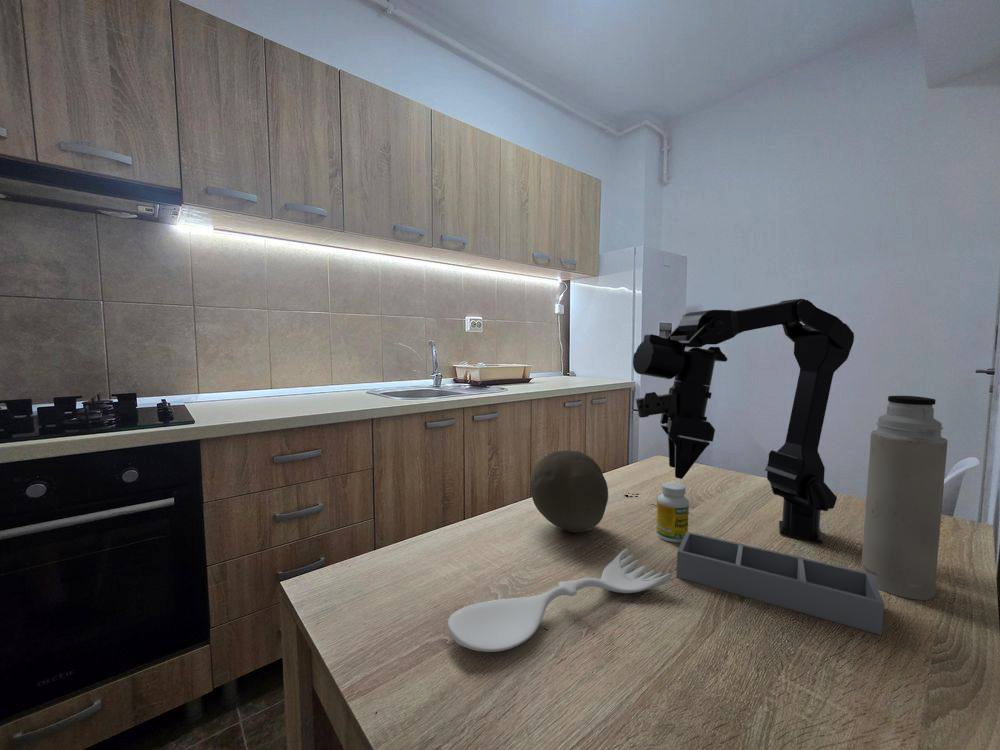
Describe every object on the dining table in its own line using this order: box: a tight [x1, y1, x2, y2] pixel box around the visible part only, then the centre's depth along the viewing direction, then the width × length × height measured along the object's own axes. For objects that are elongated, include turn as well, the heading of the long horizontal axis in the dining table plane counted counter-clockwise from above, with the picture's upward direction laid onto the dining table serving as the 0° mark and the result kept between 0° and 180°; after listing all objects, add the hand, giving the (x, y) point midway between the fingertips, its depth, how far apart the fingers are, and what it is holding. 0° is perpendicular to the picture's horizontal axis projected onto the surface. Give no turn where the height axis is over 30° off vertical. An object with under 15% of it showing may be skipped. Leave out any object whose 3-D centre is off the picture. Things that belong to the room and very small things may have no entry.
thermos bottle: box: [860, 395, 949, 601], centre depth 62 cm, size 8×8×28 cm
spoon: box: [447, 548, 673, 653], centre depth 56 cm, size 9×32×4 cm, turn 119°
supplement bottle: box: [656, 481, 690, 543], centre depth 77 cm, size 5×5×10 cm
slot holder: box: [676, 531, 885, 636], centre depth 61 cm, size 8×23×4 cm, turn 57°
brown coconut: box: [529, 450, 609, 533], centre depth 79 cm, size 14×14×15 cm
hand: (675, 472), depth 73 cm, fingers open, 9 cm apart
